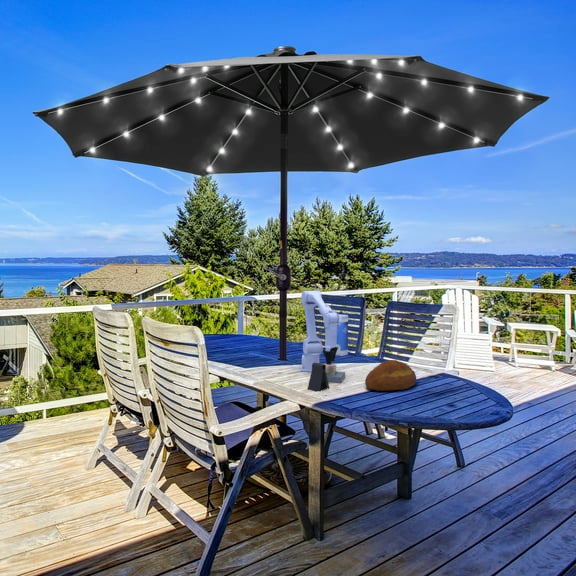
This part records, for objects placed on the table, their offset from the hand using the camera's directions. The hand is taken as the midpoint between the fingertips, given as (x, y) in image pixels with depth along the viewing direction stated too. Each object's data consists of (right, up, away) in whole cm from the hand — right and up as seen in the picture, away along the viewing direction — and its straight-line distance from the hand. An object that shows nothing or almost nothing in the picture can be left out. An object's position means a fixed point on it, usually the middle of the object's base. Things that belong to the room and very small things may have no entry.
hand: (330, 362), depth 236 cm
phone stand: (-7, -10, -17) cm, 21 cm away
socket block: (0, -9, 0) cm, 9 cm away
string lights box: (+10, -5, +67) cm, 68 cm away
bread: (+29, -10, -11) cm, 32 cm away
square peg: (0, -8, 0) cm, 8 cm away
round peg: (+1, -8, +12) cm, 14 cm away
